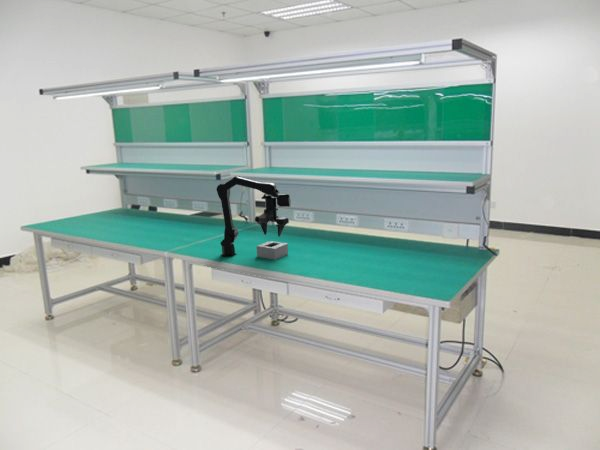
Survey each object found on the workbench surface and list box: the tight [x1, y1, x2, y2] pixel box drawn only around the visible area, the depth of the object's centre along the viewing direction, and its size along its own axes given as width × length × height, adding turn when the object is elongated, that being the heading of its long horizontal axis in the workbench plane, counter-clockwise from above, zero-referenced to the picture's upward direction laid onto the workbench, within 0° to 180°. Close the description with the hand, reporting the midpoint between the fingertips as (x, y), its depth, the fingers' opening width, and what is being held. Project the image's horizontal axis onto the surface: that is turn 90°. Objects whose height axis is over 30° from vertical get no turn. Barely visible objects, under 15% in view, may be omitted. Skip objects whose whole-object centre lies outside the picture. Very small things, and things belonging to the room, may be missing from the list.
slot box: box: [256, 240, 289, 261], centre depth 249 cm, size 12×12×6 cm
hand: (272, 235), depth 248 cm, fingers open, 9 cm apart
